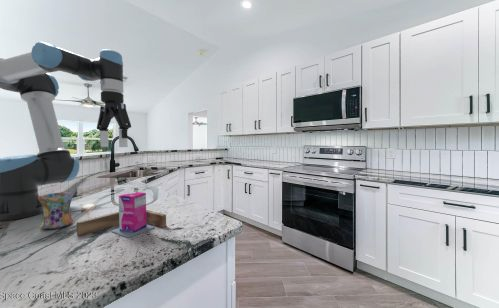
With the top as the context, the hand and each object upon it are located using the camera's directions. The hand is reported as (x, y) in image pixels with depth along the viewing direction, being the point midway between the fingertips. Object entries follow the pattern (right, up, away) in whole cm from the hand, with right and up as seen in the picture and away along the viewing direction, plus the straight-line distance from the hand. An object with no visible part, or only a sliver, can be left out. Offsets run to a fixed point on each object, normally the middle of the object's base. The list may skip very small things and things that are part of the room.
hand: (113, 147), depth 87 cm
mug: (-13, -27, -11) cm, 32 cm away
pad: (+16, -27, -15) cm, 35 cm away
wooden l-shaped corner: (+13, -27, -16) cm, 34 cm away
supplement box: (+16, -27, -15) cm, 35 cm away
